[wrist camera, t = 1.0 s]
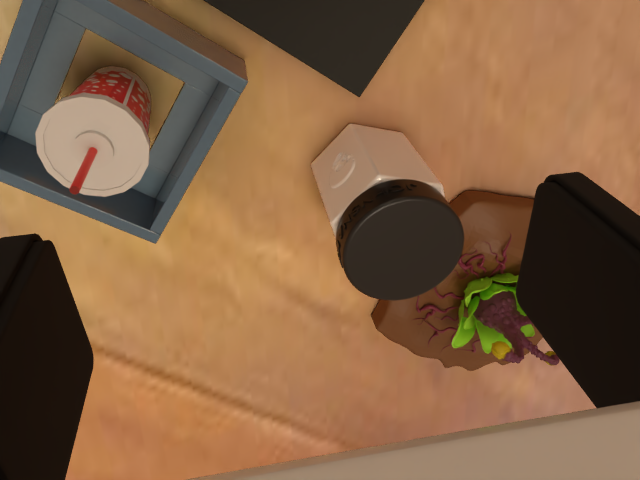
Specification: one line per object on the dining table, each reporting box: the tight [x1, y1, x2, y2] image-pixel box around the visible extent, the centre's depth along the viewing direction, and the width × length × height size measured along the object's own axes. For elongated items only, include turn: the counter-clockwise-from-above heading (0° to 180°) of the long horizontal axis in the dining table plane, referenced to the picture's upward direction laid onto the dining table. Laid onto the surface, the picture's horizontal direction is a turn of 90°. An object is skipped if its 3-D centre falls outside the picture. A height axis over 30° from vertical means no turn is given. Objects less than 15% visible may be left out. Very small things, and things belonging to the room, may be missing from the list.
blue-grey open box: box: [0, 0, 248, 244], centre depth 36 cm, size 14×13×5 cm
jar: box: [311, 124, 464, 301], centre depth 39 cm, size 9×8×12 cm
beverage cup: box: [35, 66, 151, 197], centre depth 32 cm, size 6×6×14 cm
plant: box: [371, 191, 559, 371], centre depth 48 cm, size 20×20×11 cm
